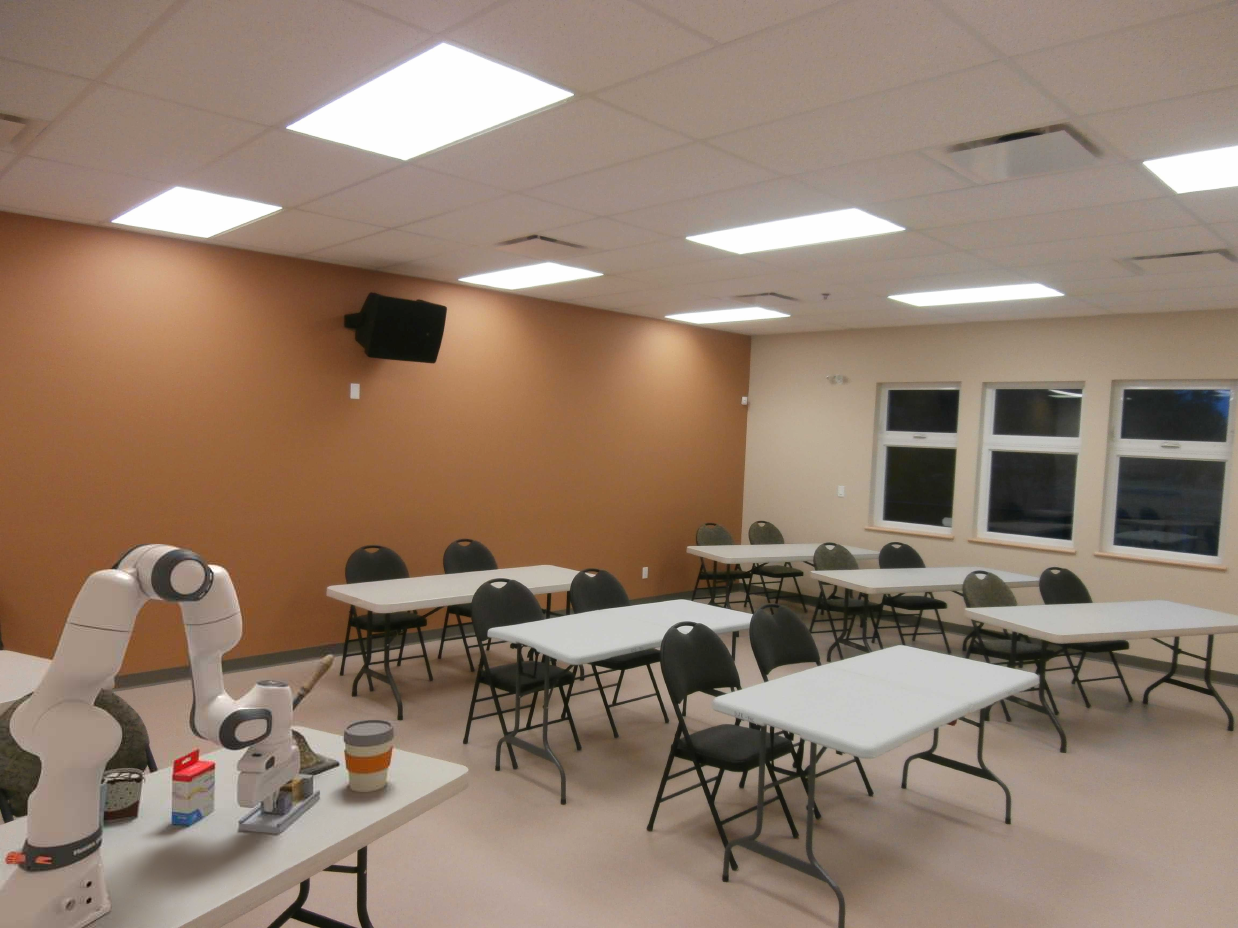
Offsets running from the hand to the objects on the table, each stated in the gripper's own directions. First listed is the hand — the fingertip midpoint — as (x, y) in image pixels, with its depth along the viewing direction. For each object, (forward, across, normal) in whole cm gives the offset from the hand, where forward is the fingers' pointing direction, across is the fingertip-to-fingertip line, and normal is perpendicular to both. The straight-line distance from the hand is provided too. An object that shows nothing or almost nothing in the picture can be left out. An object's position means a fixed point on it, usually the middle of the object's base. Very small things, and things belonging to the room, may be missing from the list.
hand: (270, 809), depth 182 cm
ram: (+2, -3, 0) cm, 4 cm away
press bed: (+3, -5, 0) cm, 6 cm away
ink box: (+4, 0, -19) cm, 20 cm away
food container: (+4, +2, -37) cm, 37 cm away
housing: (+2, -8, 0) cm, 8 cm away
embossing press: (+4, -27, -9) cm, 29 cm away
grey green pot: (+4, +13, -37) cm, 40 cm away
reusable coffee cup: (+3, -24, +13) cm, 27 cm away
